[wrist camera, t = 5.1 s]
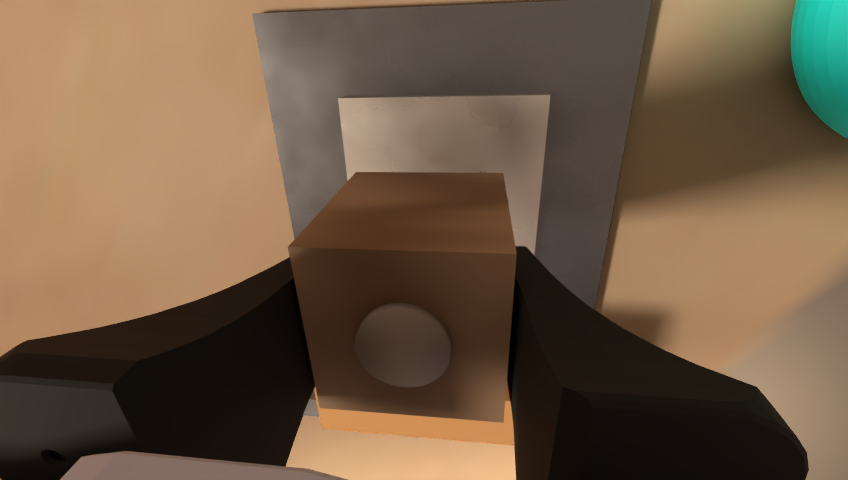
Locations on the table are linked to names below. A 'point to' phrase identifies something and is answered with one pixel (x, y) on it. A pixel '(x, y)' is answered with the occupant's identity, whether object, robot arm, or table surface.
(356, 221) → the block
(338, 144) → the frame
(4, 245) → the table surface
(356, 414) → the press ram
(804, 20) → the donuts
